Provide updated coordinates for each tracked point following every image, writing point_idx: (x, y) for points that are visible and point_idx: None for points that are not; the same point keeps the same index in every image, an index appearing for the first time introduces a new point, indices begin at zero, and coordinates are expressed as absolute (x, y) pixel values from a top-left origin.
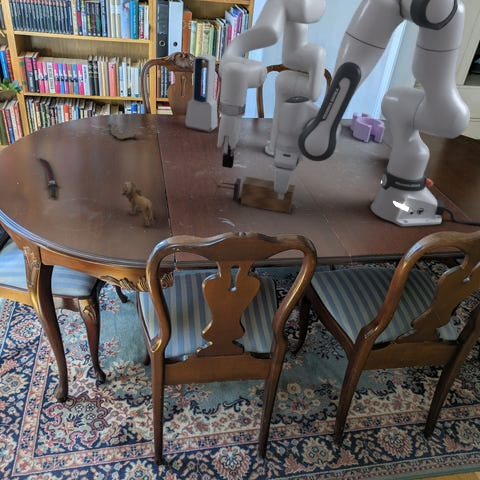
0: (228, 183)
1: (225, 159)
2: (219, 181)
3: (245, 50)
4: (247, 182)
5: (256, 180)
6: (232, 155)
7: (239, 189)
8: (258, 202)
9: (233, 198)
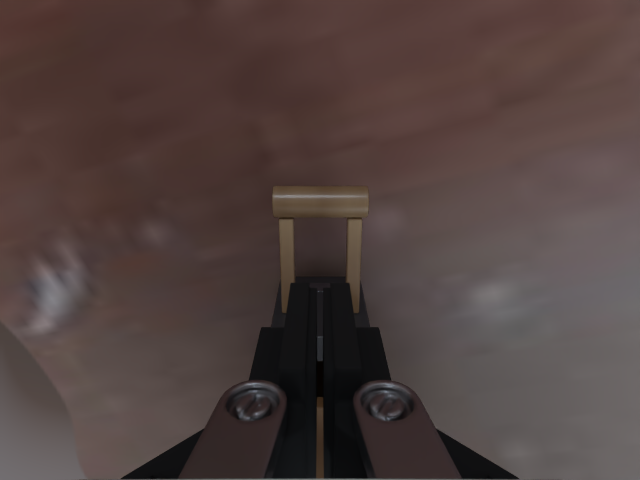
0: (346, 259)
1: (251, 378)
2: (339, 194)
3: None
4: None
5: None
6: (326, 475)
7: None
8: None
9: (280, 283)
